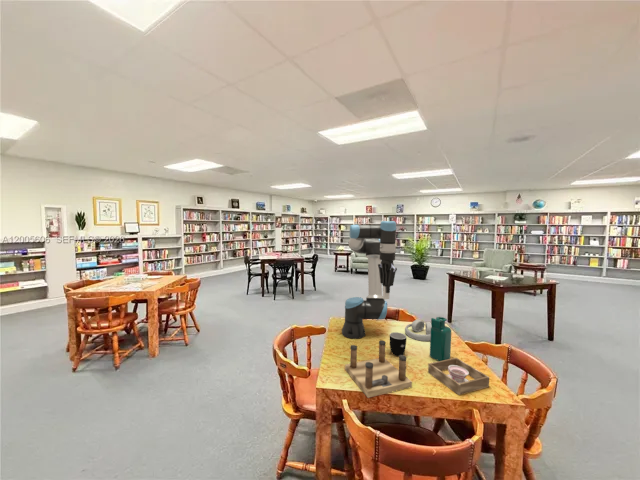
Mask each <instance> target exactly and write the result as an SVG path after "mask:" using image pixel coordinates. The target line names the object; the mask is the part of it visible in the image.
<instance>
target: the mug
mask: <svg viewBox="0 0 640 480" xmlns="http://www.w3.org/2000/svg"><path fill="white" fill-rule="evenodd" d="M406 345H407V335H406V334H404V333H402V332H397V331H395V332H391V333H389V348H390V352H391V354H392V355H393V356H397V357H399V355H405V351H406V348H407V346H406Z"/></svg>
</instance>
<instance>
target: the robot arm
mask: <svg viewBox="0 0 640 480" xmlns="http://www.w3.org/2000/svg"><path fill="white" fill-rule="evenodd" d="M396 239H397V223H396V221H393V220H391V221H390V220H381V222H380V224H351V225H349V240H348V247H349V249H350V250H351V251H352V252H354V253H357V254H361V255H365V258H367V267H368V268H367V269H368V270H367V273H368V281H367V282H368V295H367V296H366V297H365V298H366V299H365V300H364V298H363V297H359V296H355V297H349V298H347V299H346V300H345V302H344V322H343V326H342V328H341V335H342V336H343V337H345V338H347V339H348V338H349V339H354V340H355V339H357V340H358V339H362V338H364V337H365V336H366V330H365V325H364V320H385V318H386V316H387V313H388V301H386V300H390V293H391V292H390V291H391V287H393V286H394V282H395V275H396V273H397V270H398V269H397V267H395V266H394V261H395V260H396V249H397V248H396V245H397V244H396V241H397V240H396Z"/></svg>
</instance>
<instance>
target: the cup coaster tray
mask: <svg viewBox="0 0 640 480" xmlns="http://www.w3.org/2000/svg"><path fill="white" fill-rule="evenodd" d="M450 365H457V366H460V367H463V368H465V369H466V370H467V371H468V372H469V374H468V375H467V376H469V377H471V378H472V380H469V381H466V382H463V383H458V382H456V381H455V380H453V379H452V378H450V377H449V376H448V374H446V373H445V372H443V371H445V370H448V366H450ZM427 372H428V373H427V374H430V375H431V376H432V377H433V378H435V379H436V380H437V381H439V382H440V383H441V384H443V385H444V386H446V387H447V388H448V389H450V390H451V391H452V392H454V393H455V394H457V396H460V395H465V394H468V393H472V392H474V391H479V390H482V389H485V388H489V387H490V376H488V375H487V374H485V373H484V372H481V370H478V369H476V368H475V367H473V366H472V365H469V364H468V363H466V362H465V361H463V360H461V359H459V358H458V357H452V358H450V359H447V360H443V361H438V360H437V361H434V362H429V363H428V370H427Z"/></svg>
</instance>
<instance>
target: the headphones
mask: <svg viewBox="0 0 640 480" xmlns="http://www.w3.org/2000/svg"><path fill="white" fill-rule="evenodd" d="M431 327H432V326H431V321H425V322H424V321H423V320H422V319H415V320H413V321H412V322H411V323H408V324H407V325H406V326H405V328H404V332H405V335H406V336H407V337H409V338H411V339H413V340H415V341H420V342H430V333H431ZM408 328H411V330H412V331H413V332H412V331H411V330H409V329H408ZM424 328H425V333H426V334H418V333H420V332H422V331H423V330H424Z"/></svg>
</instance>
